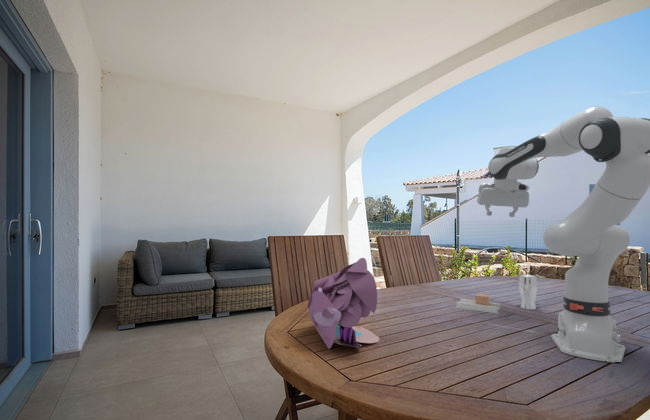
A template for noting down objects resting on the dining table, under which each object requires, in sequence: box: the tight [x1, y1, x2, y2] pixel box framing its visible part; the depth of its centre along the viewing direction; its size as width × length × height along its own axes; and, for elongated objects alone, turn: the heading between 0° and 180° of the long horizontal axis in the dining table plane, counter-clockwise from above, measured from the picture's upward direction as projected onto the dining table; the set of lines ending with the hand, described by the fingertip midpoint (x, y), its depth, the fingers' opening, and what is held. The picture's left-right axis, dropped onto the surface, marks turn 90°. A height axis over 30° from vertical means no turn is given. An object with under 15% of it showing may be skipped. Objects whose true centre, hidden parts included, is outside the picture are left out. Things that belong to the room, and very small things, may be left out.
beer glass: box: [518, 274, 538, 310], centre depth 152 cm, size 7×7×15 cm
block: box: [475, 293, 491, 306], centre depth 149 cm, size 5×5×6 cm
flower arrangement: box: [307, 257, 380, 350], centre depth 115 cm, size 35×24×28 cm
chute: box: [456, 298, 501, 314], centre depth 150 cm, size 8×16×4 cm, turn 57°
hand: (500, 216), depth 151 cm, fingers open, 8 cm apart
